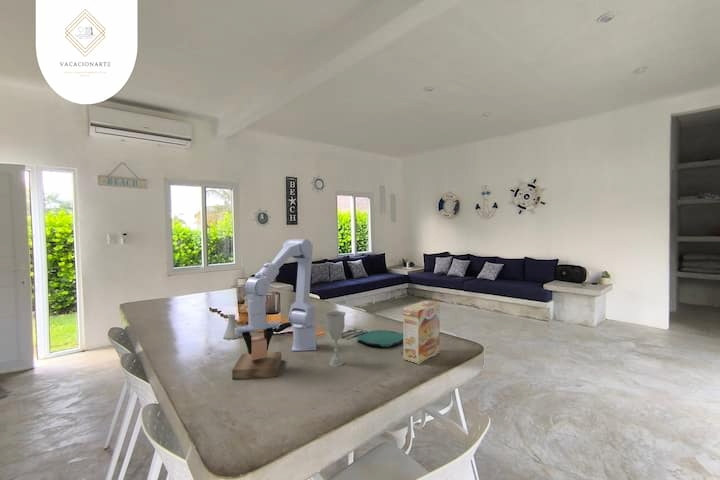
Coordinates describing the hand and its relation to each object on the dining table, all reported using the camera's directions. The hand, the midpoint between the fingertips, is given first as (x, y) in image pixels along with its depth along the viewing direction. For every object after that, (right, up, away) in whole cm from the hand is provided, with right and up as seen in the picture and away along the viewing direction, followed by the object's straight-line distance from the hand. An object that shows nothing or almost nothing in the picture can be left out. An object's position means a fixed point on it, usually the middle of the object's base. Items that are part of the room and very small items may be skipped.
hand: (258, 351), depth 119 cm
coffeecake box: (+58, -5, +10) cm, 59 cm away
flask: (-22, -5, +35) cm, 42 cm away
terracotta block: (0, -2, 0) cm, 2 cm away
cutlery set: (+40, -5, +31) cm, 51 cm away
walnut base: (0, -6, 0) cm, 6 cm away
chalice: (+27, -6, +4) cm, 28 cm away
